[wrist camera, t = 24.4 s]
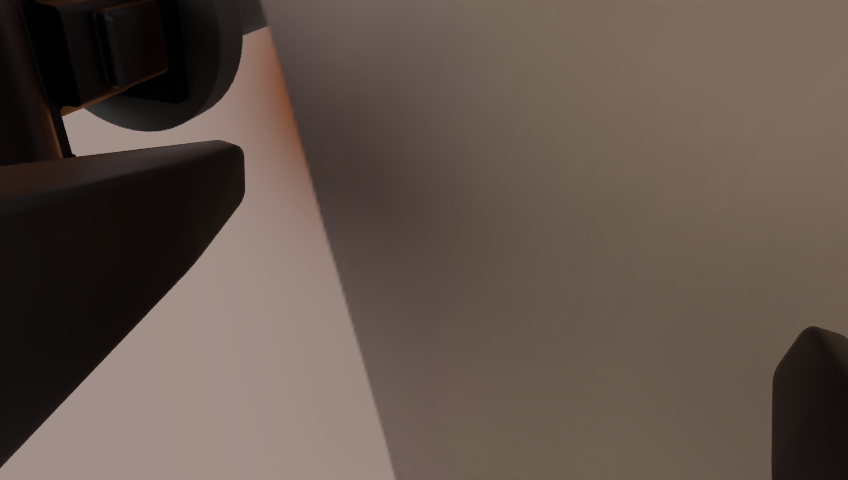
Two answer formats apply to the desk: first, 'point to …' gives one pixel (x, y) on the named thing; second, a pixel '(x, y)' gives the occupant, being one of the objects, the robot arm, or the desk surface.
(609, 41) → the desk surface
